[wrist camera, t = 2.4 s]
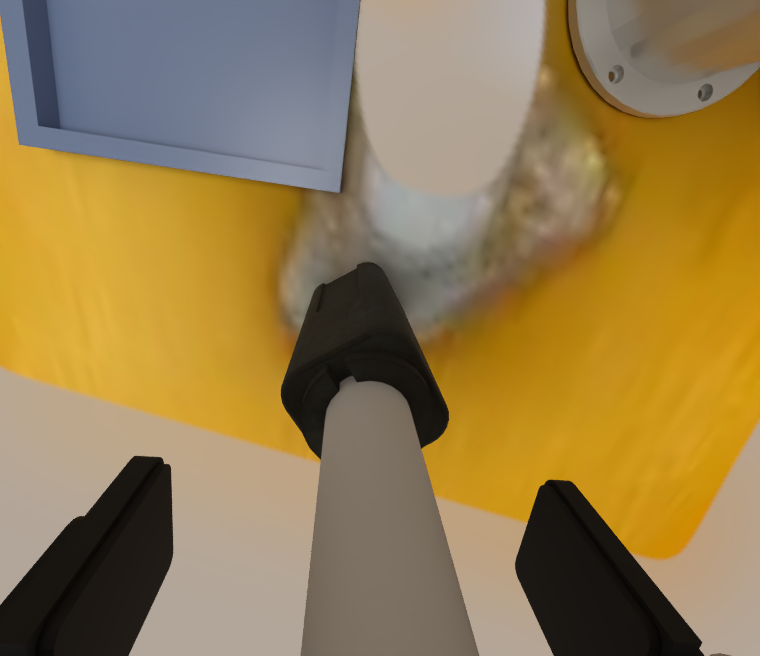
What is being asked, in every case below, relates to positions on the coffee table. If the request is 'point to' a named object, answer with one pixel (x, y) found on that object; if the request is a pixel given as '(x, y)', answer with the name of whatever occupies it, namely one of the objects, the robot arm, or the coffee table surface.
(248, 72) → the slate blue tray
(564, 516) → the robot arm
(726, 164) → the coffee table surface
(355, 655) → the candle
